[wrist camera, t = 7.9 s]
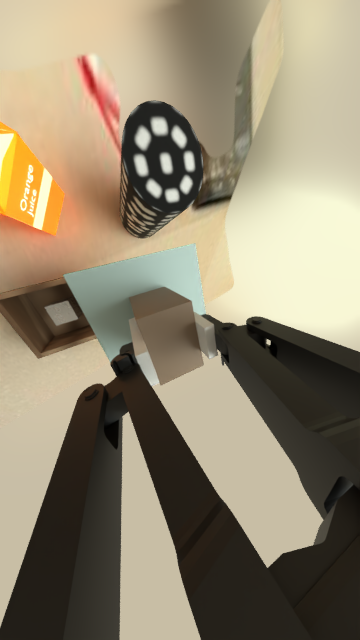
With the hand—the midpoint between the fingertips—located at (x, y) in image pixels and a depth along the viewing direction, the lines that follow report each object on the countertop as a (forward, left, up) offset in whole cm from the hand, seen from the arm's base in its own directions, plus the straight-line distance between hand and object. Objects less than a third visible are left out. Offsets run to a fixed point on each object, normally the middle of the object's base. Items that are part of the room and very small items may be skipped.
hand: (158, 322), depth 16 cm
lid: (0, 0, -3) cm, 3 cm away
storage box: (-15, 0, -24) cm, 29 cm away
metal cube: (-15, 0, -24) cm, 28 cm away
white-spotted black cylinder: (+6, +14, -25) cm, 29 cm away
